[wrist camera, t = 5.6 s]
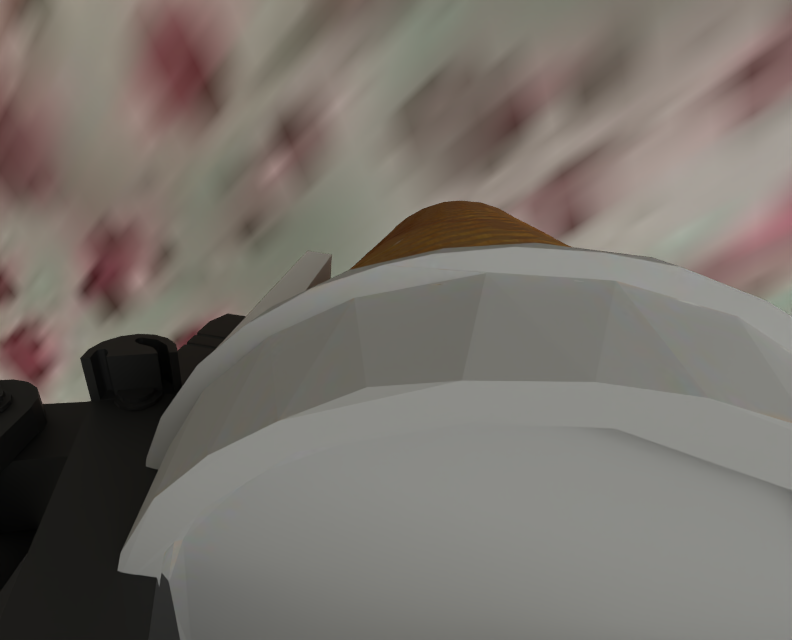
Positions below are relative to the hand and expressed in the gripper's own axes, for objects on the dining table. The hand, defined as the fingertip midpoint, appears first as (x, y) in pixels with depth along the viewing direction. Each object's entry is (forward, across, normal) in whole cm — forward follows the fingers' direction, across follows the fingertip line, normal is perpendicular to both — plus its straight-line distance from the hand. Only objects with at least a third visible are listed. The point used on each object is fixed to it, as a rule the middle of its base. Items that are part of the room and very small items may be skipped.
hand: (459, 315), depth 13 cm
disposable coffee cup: (+3, 0, 0) cm, 3 cm away
